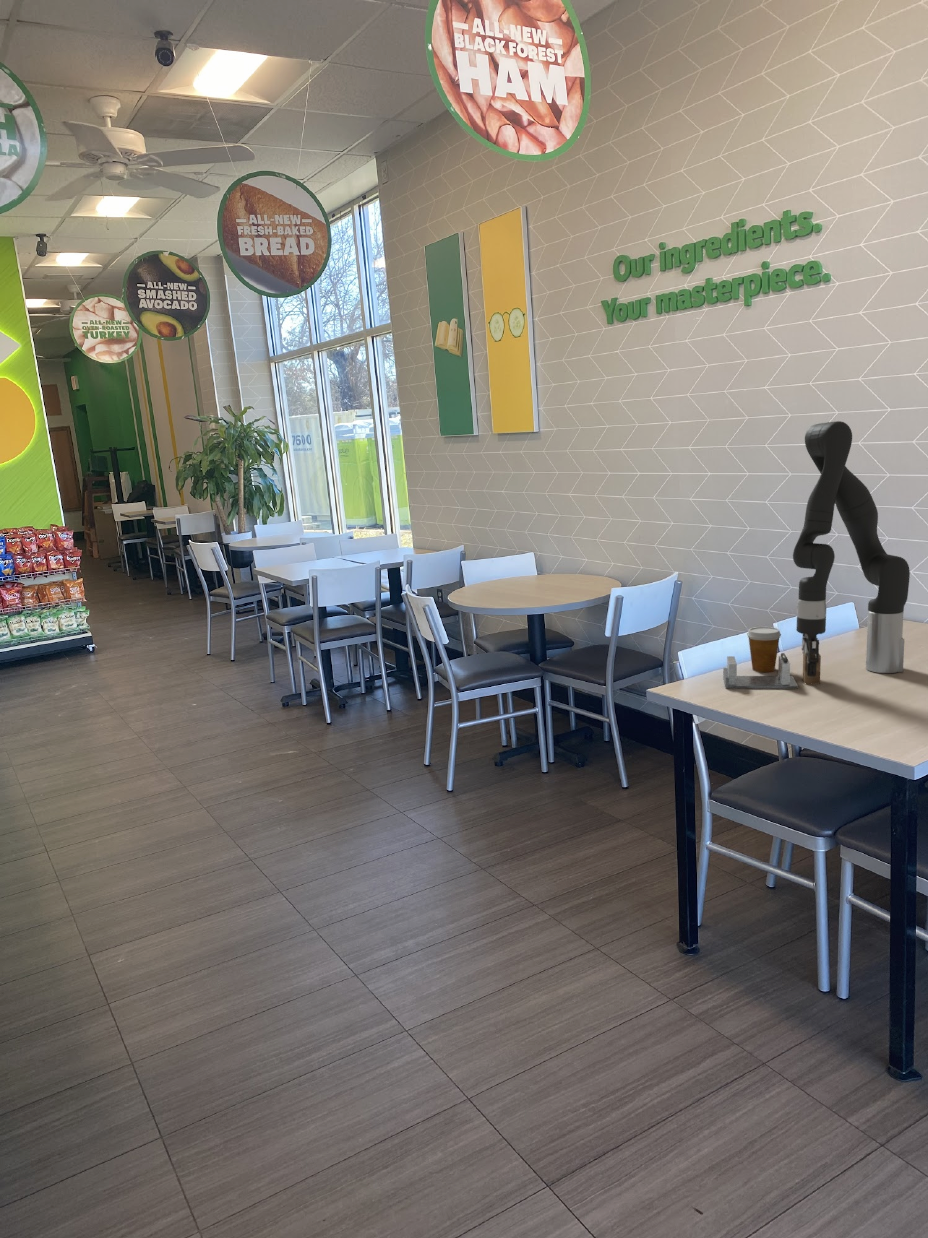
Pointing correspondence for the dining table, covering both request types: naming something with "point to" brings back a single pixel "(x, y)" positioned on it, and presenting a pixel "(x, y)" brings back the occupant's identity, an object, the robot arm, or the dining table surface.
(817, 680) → the walnut block
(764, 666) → the disposable coffee cup
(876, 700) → the dining table surface
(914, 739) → the dining table surface
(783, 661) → the block
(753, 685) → the vise bed
